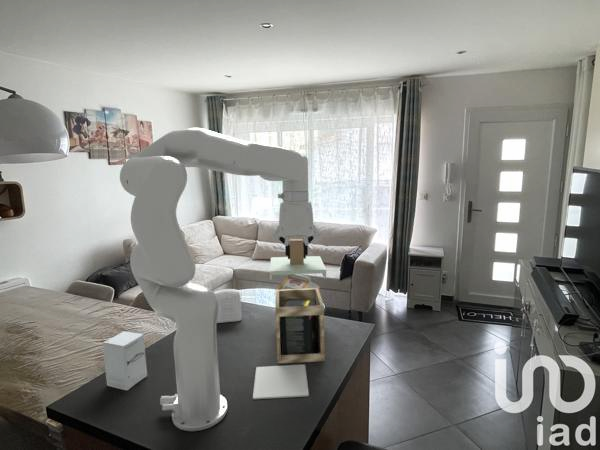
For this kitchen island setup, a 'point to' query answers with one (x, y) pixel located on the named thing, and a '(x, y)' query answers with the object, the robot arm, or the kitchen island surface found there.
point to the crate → (316, 310)
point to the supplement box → (125, 360)
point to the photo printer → (228, 305)
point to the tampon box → (298, 330)
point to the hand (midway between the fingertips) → (296, 257)
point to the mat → (280, 382)
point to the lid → (296, 262)
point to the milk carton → (297, 282)
